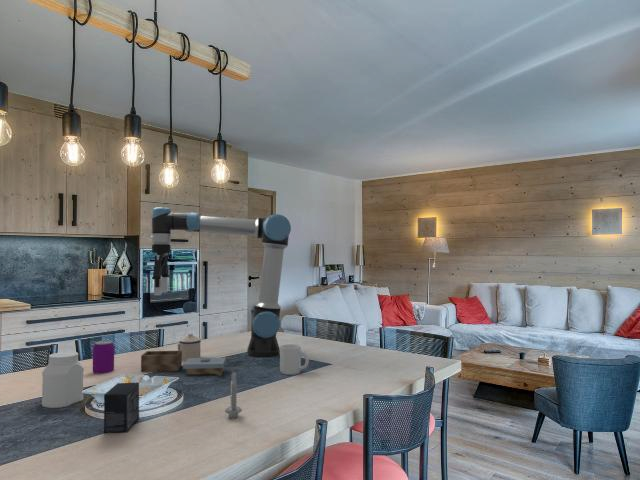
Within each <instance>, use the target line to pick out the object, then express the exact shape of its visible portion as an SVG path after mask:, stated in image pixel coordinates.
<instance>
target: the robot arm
mask: <svg viewBox="0 0 640 480" xmlns="http://www.w3.org/2000/svg"><path fill="white" fill-rule="evenodd" d="M172 231H185V232H186V233H187V232H188V233H189V232H190V233H194V232H195V233H208V234H209V233H210V234H225V235H239V236H254V237H255V238H256V239H261V244H262V246H263V247H264V249H263V250H264V251H263V258H262V267H261V274H260V275H261V277H260V284H259V293H258V301H257V302H256V303H255V304H252V306H251V310H250V313H251V317H250V318H251V324H250V325H251V327H250V329H251V332H250V334H251V335H250V340H249V343H248V347H247V349H246V352H247V355H248V356H250V357H255V358H268V357H270V358H271V357H275V356H276V357H277V356H278V355H280V346H279V343H278V339H277V333H278V332H279V330H280V327H281V321H280V320H281V319H280V317H281V306H280V304H279V303H278V302H279V297H280V296H279V295H280V286H281V279H282V278H281V276H282V267H283V261H284V251H285V249H286V248H288V245H289V236H290V234H291V231H292V225H291V222H290V220H289V219H288V218H287V217H286V216H284V215H282V214H279V213H278V214H276V213H275V214H271V215H269V216H268V217H257V218H256V219H251V218H237V217H223V216H211V215H210V216H206V215H200V214H199V212H192V211H191V212H172V209H171V208H170V207H154V208H153V209H152V217H151V236H150V238H151V242H152V245H151V252H152V254H156V255H154V264H153V274H152V277H151V279H152V280H153V296H162V293H168V292H169V291H168V289H169V288H168V287H169V286H168V284H169V282H168V281H169V280H168V278H170V274H169V265H168V255H167V254H171V250H172V249H171V246H172V245H171V243H172V241H171V240H172V239H171V238H172V237H171V236H172V233H171V232H172Z"/></svg>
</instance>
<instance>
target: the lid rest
mask: <svg viewBox="0 0 640 480" xmlns="http://www.w3.org/2000/svg"><path fill="white" fill-rule="evenodd" d="M223 371H224V367H223V368H198V369H186V375H216V376H217V377H220V376H222V375H223Z"/></svg>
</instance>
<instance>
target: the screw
mask: <svg viewBox="0 0 640 480" xmlns="http://www.w3.org/2000/svg"><path fill="white" fill-rule="evenodd" d="M229 389H230V390H229V391H230V396H229V397H230V402H229V404H230V406H228V407H226V408H225V409H224V413H226V414H228V418H229V419H232V420H233V419H237V418H238V417H239V414H240V413H241V412H242V411H243V409H242V408H241V407H240V406H237V404H238V401H237V398H238V397H237V396H238V395H237V394H238V382H237V373H236V372H231V380H230V388H229Z"/></svg>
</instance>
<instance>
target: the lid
mask: <svg viewBox="0 0 640 480" xmlns="http://www.w3.org/2000/svg"><path fill="white" fill-rule="evenodd" d="M226 362H227V357H224V356H223V357H200V358H188V359H187V360H186V361H184V362H183V364H182V369H183V370H187V369H198V368H223V369H224V368H225V364H226Z"/></svg>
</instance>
